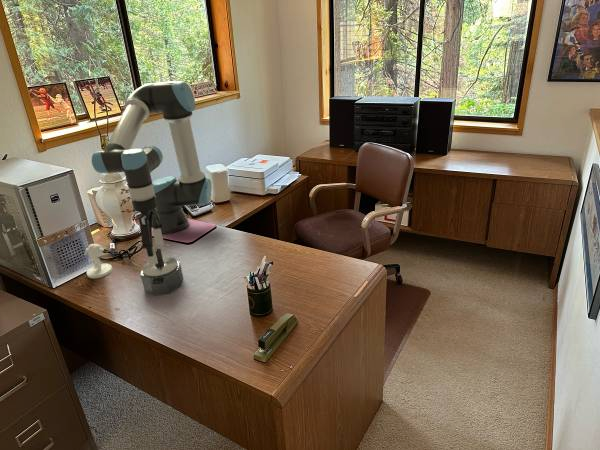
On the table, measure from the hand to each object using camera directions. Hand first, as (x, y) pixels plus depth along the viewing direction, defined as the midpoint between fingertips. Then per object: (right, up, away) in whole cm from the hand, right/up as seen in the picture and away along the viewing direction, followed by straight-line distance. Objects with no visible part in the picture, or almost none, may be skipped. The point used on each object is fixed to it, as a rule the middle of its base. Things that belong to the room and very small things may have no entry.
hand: (157, 254), depth 149 cm
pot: (+1, -12, +5) cm, 13 cm away
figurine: (-28, -8, +17) cm, 34 cm away
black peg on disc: (0, -5, +3) cm, 6 cm away
